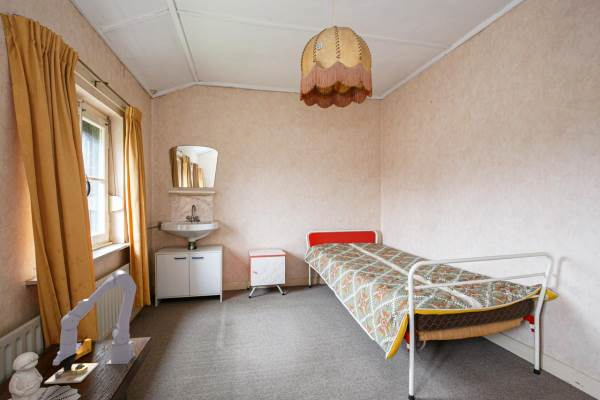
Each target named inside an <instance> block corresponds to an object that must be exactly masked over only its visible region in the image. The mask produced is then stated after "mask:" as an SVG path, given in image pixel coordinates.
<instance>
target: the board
mask: <svg viewBox="0 0 600 400" xmlns="http://www.w3.org/2000/svg"><path fill="white" fill-rule="evenodd" d="M83 364H84V363H73V364H72V367H71V369H72V368H73V367H74V366H77V370H78V369H82V368H83ZM86 364H88V370H87V371H85V372H84V373H81V374H78V375H72V374H70V375H67V376H63V377H60V378H57V379H55V374H56V373H57V372H62V371H64V369H63V367H62V368H61V369H59V370H58V371H57V372H55V373H54V374H53V375H52V376H50V377H49V378H48V379H47V380H46V381H44V385H48V384H49V385H50V384H53V385H54V384H70V383H71V384H72V383H73V384H74V383H82V382H83V380H85V379H86V378H87V377H88V376H89V375H90V374H91V373H93V371H94V370H95V369H96V368H97V367H98V366H99V365H100V363H99V362H93V363H91V362H89V363H86Z"/></svg>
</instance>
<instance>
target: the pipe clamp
mask: <svg viewBox="0 0 600 400" xmlns="http://www.w3.org/2000/svg"><path fill="white" fill-rule="evenodd" d="M92 341H93V339H92V338H86V339H84V340H83V343H82V344H81V348H78V350H77V352H76V353H77V356H76V358H75V360H74V362H75V361H76V360H78V359H80V358H81V357H83V356H85V355H87V354H88V353H90V352H92Z"/></svg>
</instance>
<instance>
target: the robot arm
mask: <svg viewBox="0 0 600 400" xmlns="http://www.w3.org/2000/svg"><path fill="white" fill-rule="evenodd" d="M117 286H118V287H120V288H122V289H123V290H124V292H123V296H122V302H121V306H120V310H119V314H118V319H117V322H116V323H115V326H114V328H113V330H112V332H111V335H112V337H113V340H112V342H111V348H110V349H111V352H110V359H109V360H108V361H107V362H106V365H125V364H126V365H127V364H129V362H130V361H131V360H132V359H133V358H134V357H135V356H136V355H135V348H136V345H135V341H134V340H130V338H131V335H130V320H131V316H132V311H133V306H134V301H135V297H136V292H137V284H136V283H135V281H134V279H133V277H132V276H131V275H130V274H129V273H128V272H127V271H125V270H123V269H118V270H116V271H115V272H113V274H111V275H109V276H108V277H107V279H106V280H105V281H104V282H103V283H102V284H101V285H100V286H99V287H98V288H97V289H96V290H95V291H94V292H93V293H92V294H91V295H90V296H89V297H88V298H86V299H82V300H80V301H78V302H77V305H76V306H75V307H74V308H73V309H72V310H69V311H68V312H67V314H65V315H64V316H63V317H62V318H61V320H60V324H61V325H60V326H61V330H60V331H61V333H60V339H59V340H60V343H59V351H57V352H56V355H57V356H56V357H55V359H53V361H52V366H59V365H60V364H61V366H62V368H63V369H64V371H65V370H69V369H71V367H72V364H74V362H75V361H76V360H75V358H76V356H77V353H76V352H77V350H78V348H81V346H82V342H79V343H78V332H77V325H78V326H79V323H80V320H82V319H83V318H84V317H85V316H87V314H88V313H90V312H91V310H92V309H94V307H95V303H96V302H97V301H98V300H100V299H101V298H102V296H103V295H105V294H106V293H107V292H108V291H109V290H111V289H112V290H113V289H117ZM74 360H75V361H74Z"/></svg>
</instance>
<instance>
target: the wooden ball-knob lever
mask: <svg viewBox="0 0 600 400" xmlns="http://www.w3.org/2000/svg"><path fill="white" fill-rule="evenodd" d="M82 364H83V368H82V369H78V370H77V366H74V367H73V368H72V369H69V370H65V371H62V372H58V371H57V372H55V373H56V374H55V373H54V374H55V379H57V378H60V377H63V376H67V375H70V374H72V375H78V374H81V373H84V372H85V371H87V370H88V364H87V363H82Z"/></svg>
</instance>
